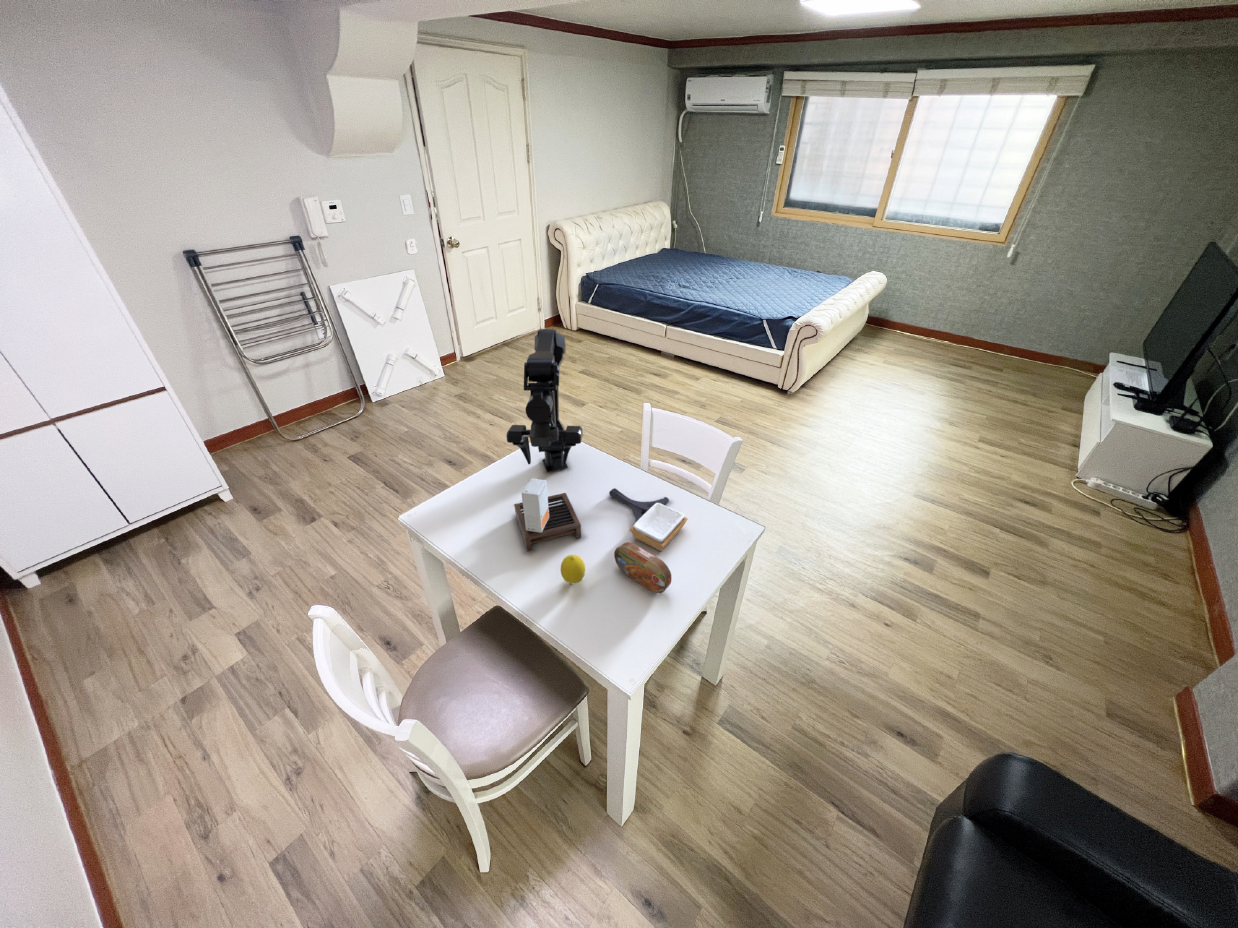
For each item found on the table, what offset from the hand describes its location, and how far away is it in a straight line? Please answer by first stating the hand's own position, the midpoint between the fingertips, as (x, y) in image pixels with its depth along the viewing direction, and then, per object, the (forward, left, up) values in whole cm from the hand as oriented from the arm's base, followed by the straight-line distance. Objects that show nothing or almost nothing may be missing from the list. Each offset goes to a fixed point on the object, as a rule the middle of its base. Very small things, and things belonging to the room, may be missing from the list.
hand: (547, 464), depth 129 cm
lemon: (+30, -2, -13) cm, 32 cm away
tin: (+35, +13, -13) cm, 39 cm away
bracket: (+10, +21, -13) cm, 26 cm away
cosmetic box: (+13, -6, -8) cm, 17 cm away
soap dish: (+22, +23, -13) cm, 34 cm away
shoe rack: (+10, -3, -13) cm, 16 cm away
